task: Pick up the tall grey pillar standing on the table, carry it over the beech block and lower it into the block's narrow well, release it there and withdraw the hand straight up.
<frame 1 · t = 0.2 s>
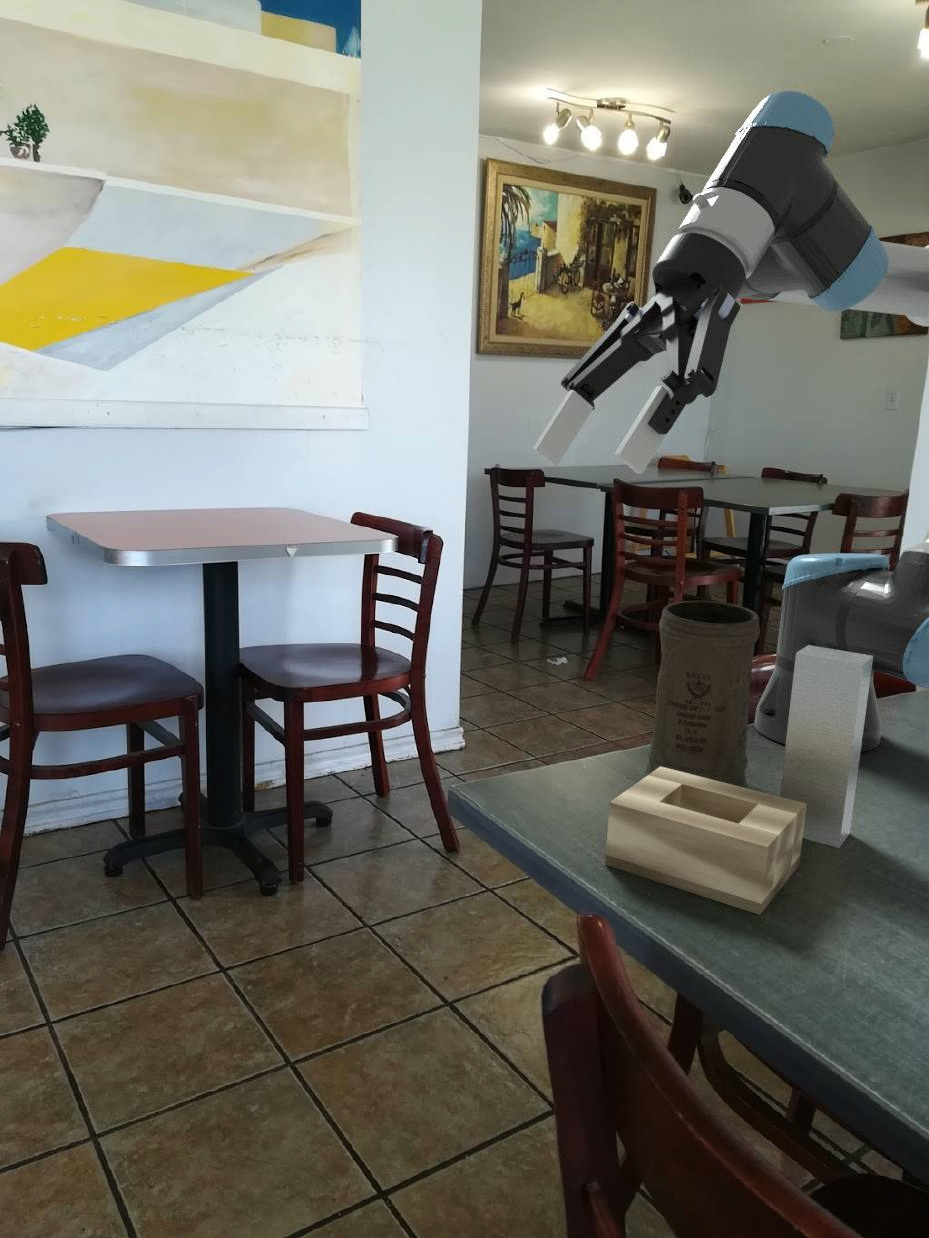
hand: (583, 461, 84), 35 cm above the table, tool tilted 35°, fingers open, 13 cm apart
well block: (702, 864, 88), on the table
beer stein: (693, 784, 107), on the table
tall grey pillar: (812, 832, 96), on the table
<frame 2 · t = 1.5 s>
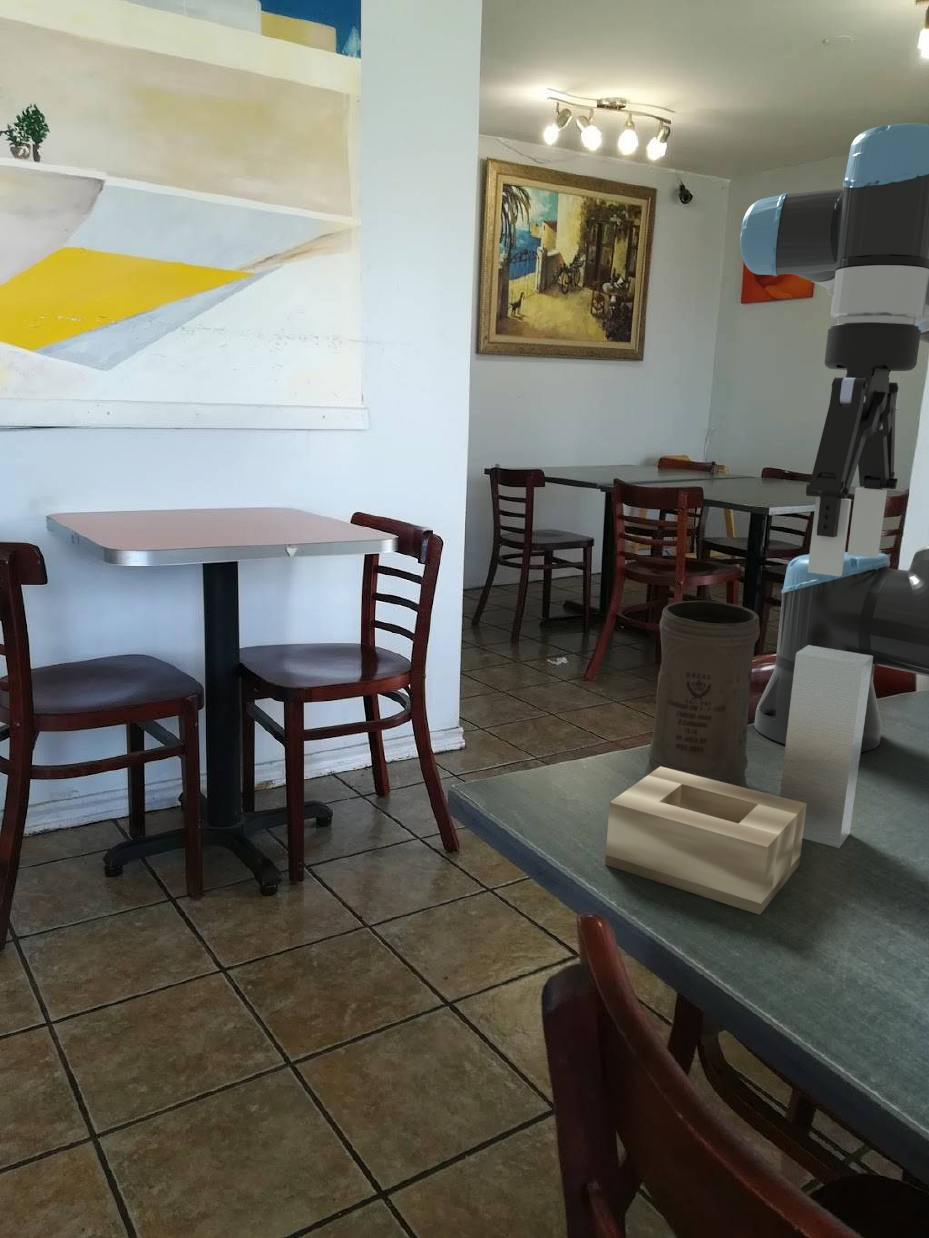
hand: (844, 564, 90), 26 cm above the table, tool pointing down, fingers open, 13 cm apart
nothing on the table moved.
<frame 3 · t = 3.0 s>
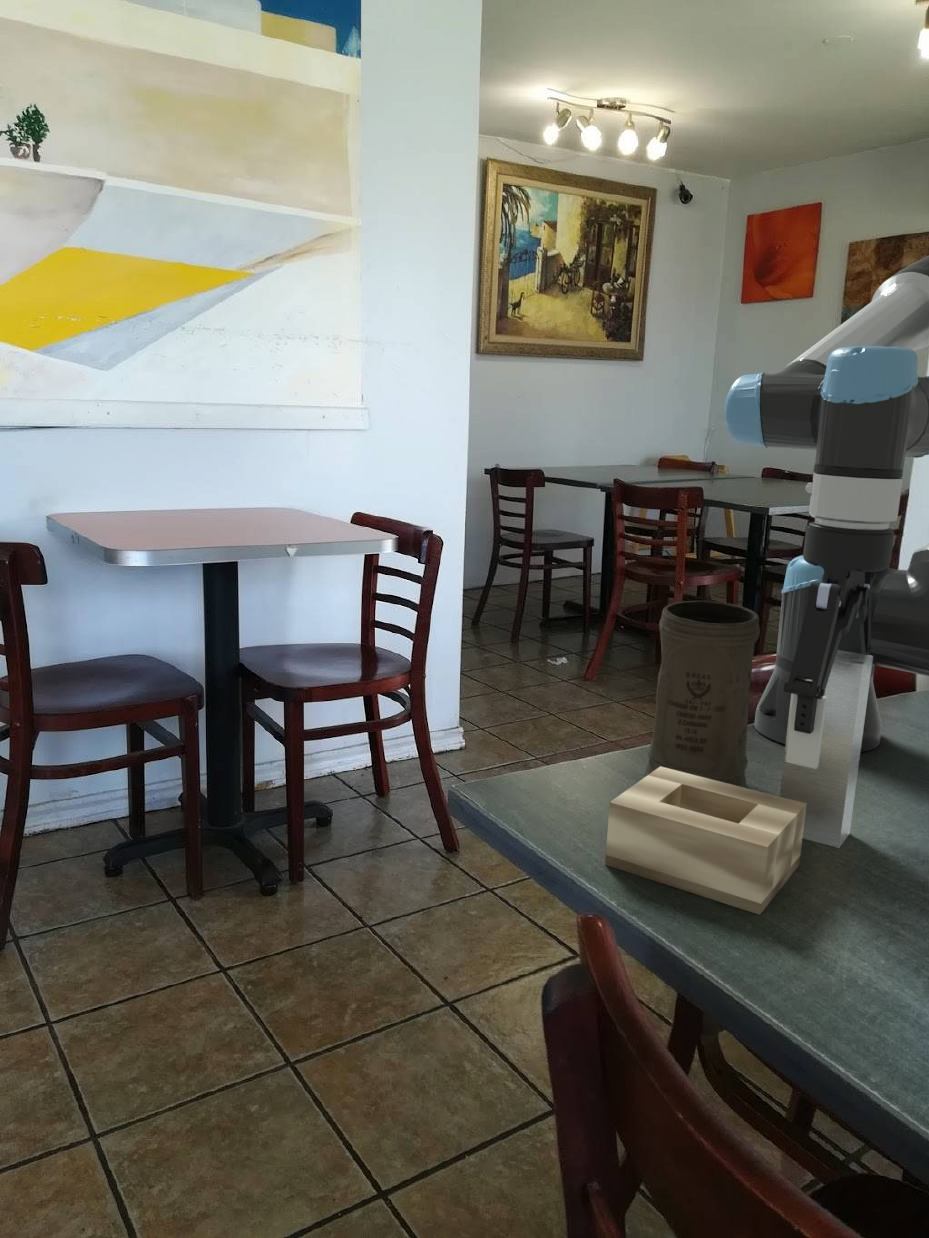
hand: (822, 745, 94), 9 cm above the table, tool pointing down, fingers open, 13 cm apart
nothing on the table moved.
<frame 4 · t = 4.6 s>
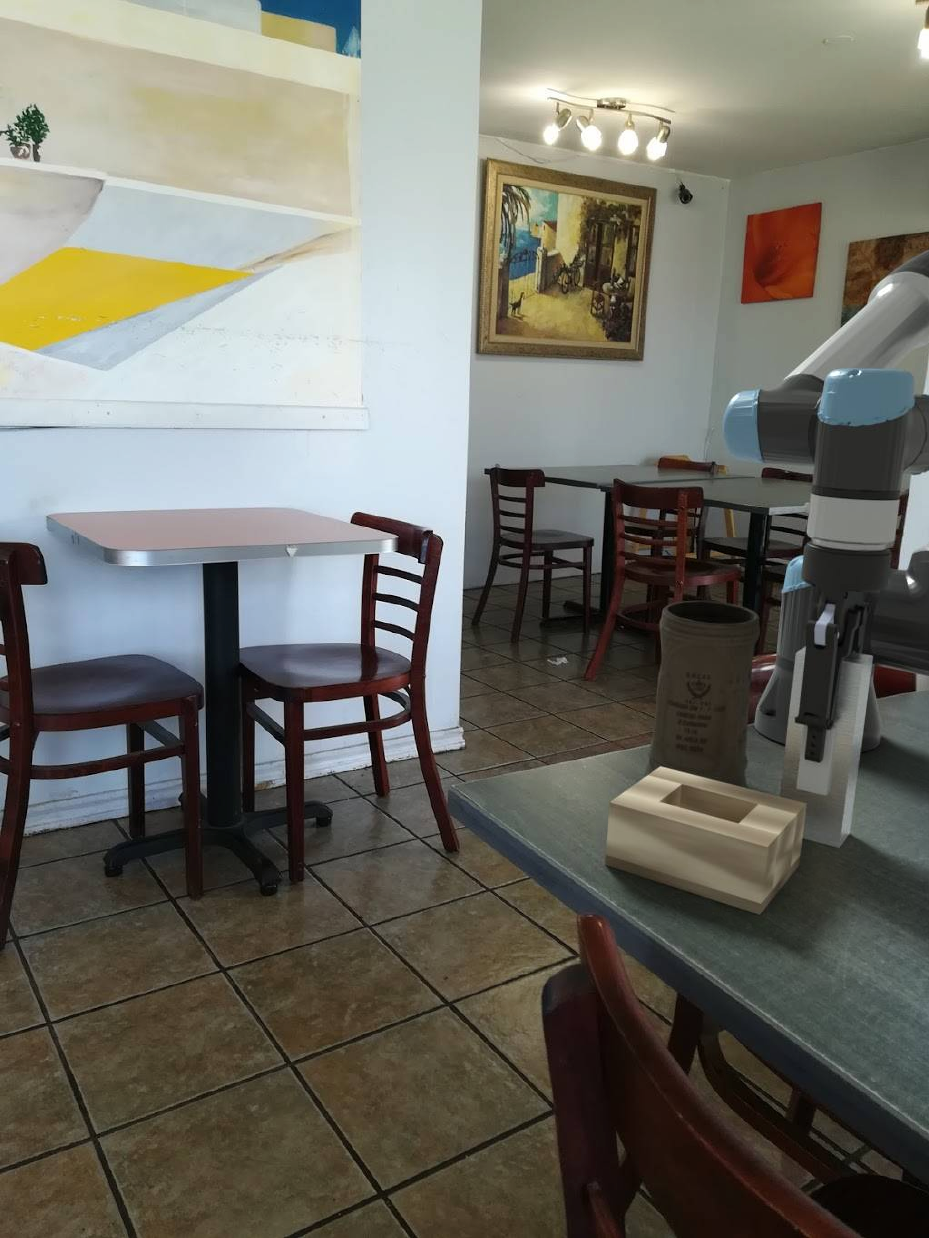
hand: (818, 782, 95), 5 cm above the table, tool pointing down, fingers closed on tall grey pillar, 4 cm apart
tall grey pillar: (812, 832, 96), on the table, touching gripper
everything else where it was.
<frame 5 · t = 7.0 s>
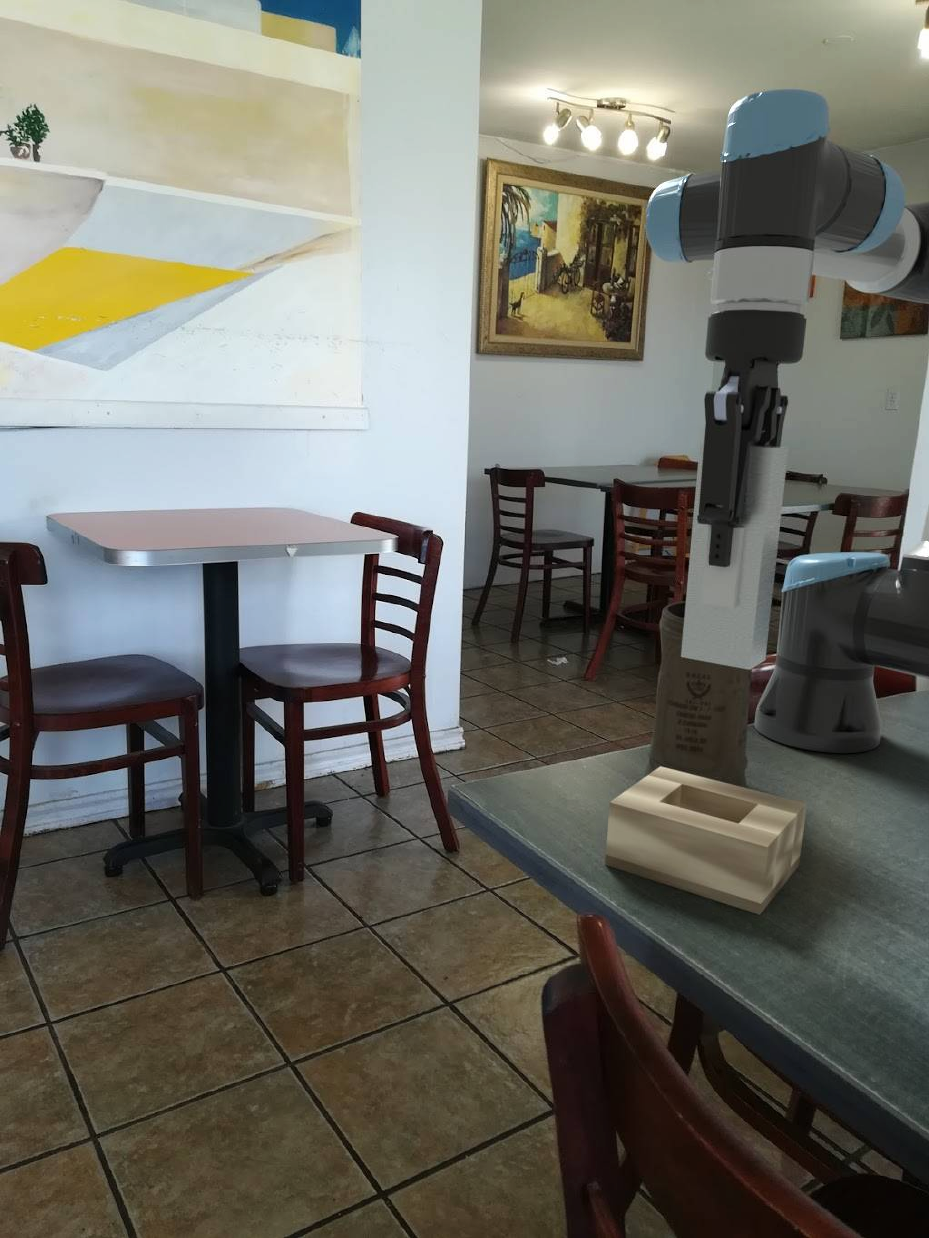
hand: (728, 599, 83), 24 cm above the table, tool pointing down, fingers closed on tall grey pillar, 4 cm apart
tall grey pillar: (723, 658, 84), point 19 cm above the table, touching gripper
everything else where it was.
when the fingers open (8 cm above the table, at t = 9.7 s): tall grey pillar drops 1 cm, resting on well block.
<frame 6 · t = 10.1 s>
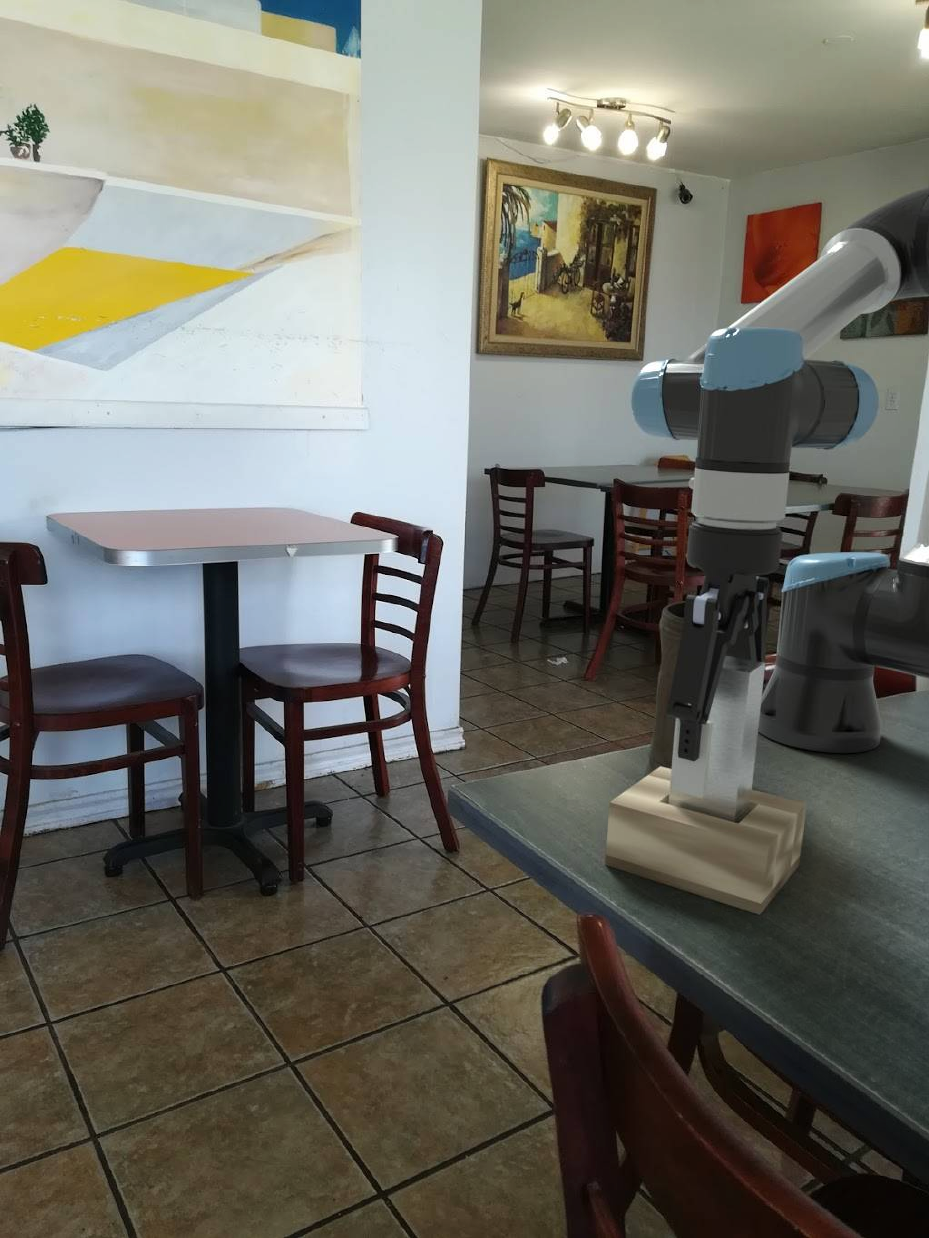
hand: (711, 774, 86), 9 cm above the table, tool pointing down, fingers open, 10 cm apart
tall grey pillar: (704, 854, 88), point 1 cm above the table, touching well block
everything else where it was.
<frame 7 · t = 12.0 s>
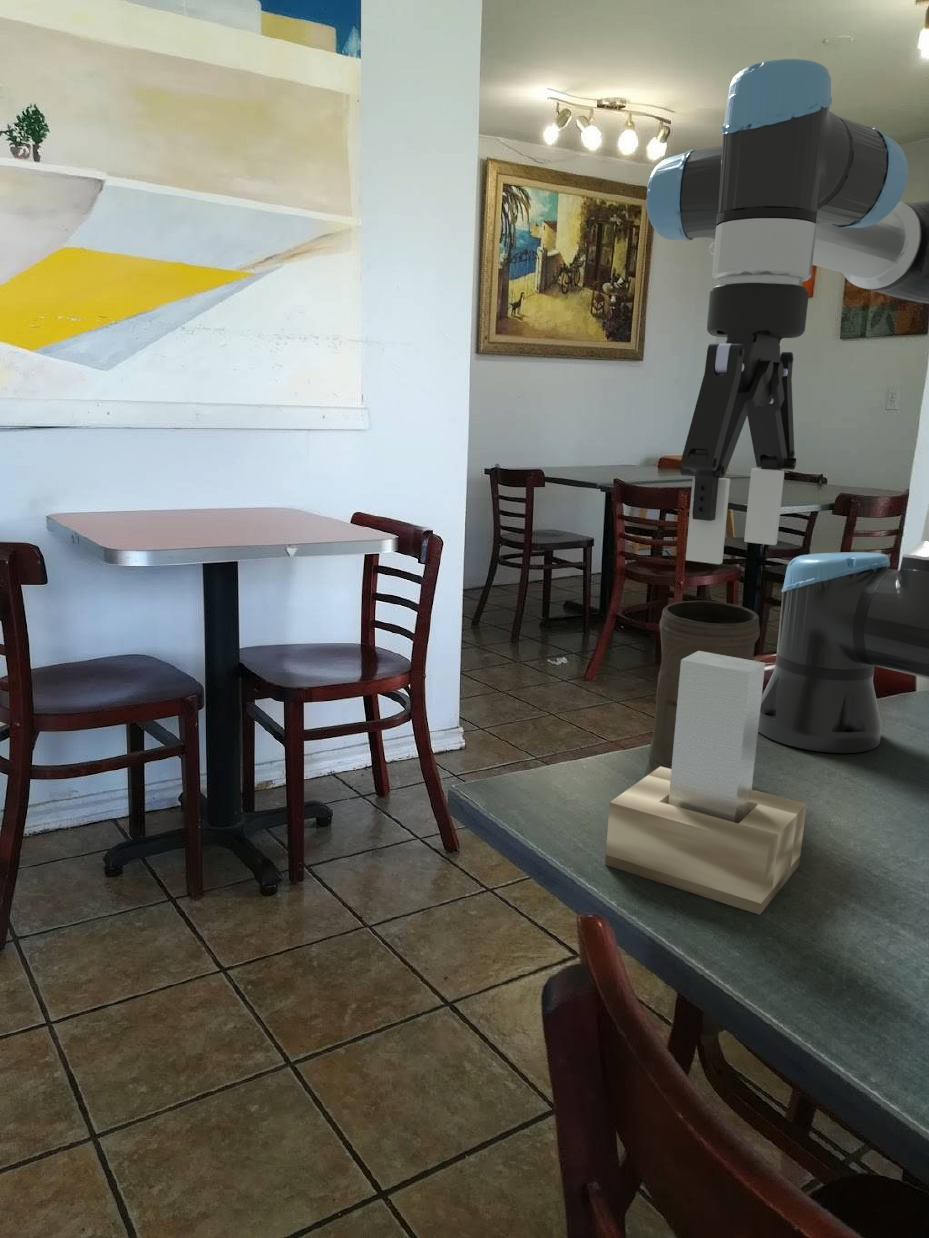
hand: (733, 552, 82), 28 cm above the table, tool pointing down, fingers open, 13 cm apart
nothing on the table moved.
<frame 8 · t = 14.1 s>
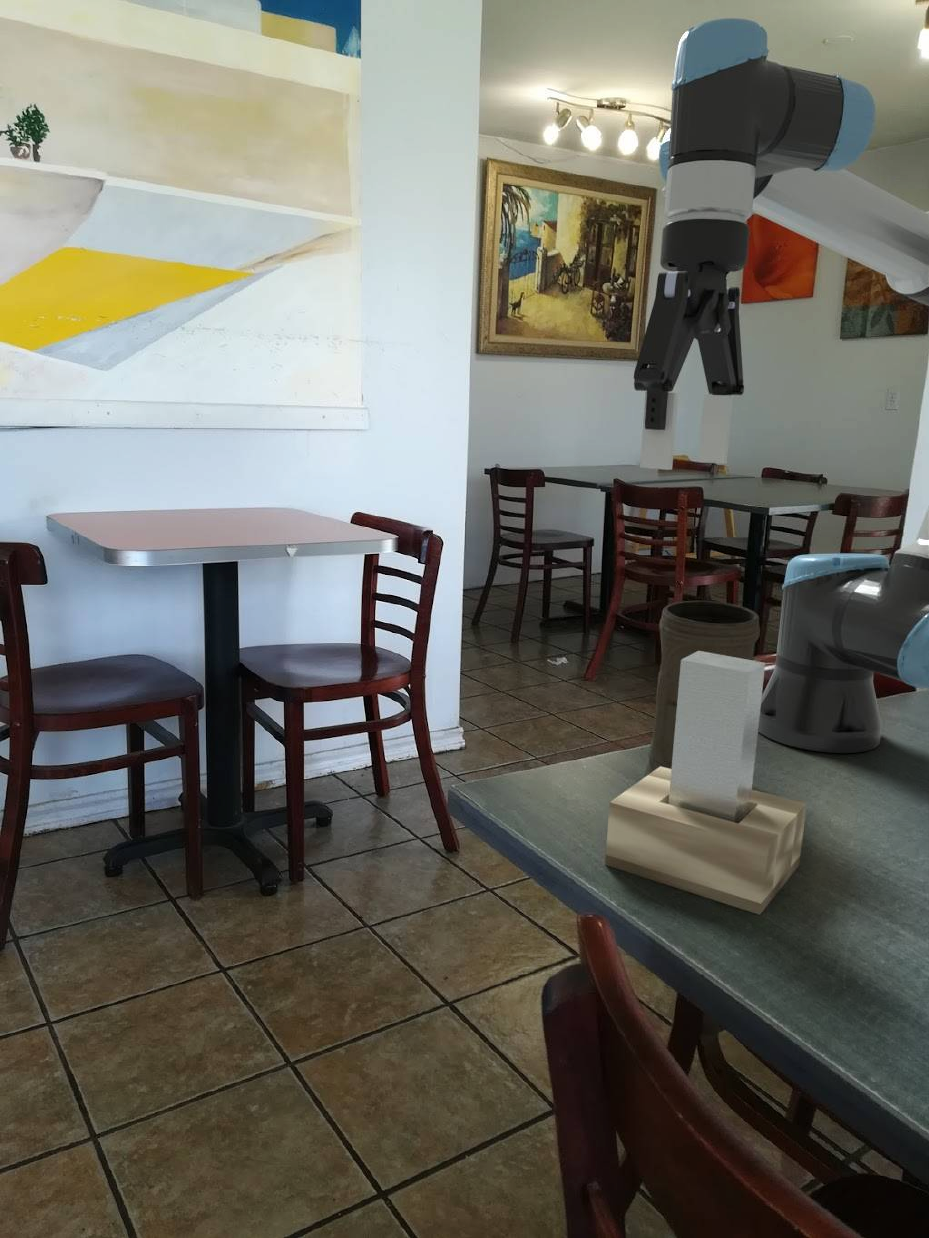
hand: (685, 466, 91), 35 cm above the table, tool pointing down, fingers open, 13 cm apart
nothing on the table moved.
at the end: tall grey pillar 0.1 cm off-centre on the well block, point 1.0 cm above the well block's base; tall grey pillar tilted 0°; the gripper is holding nothing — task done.
